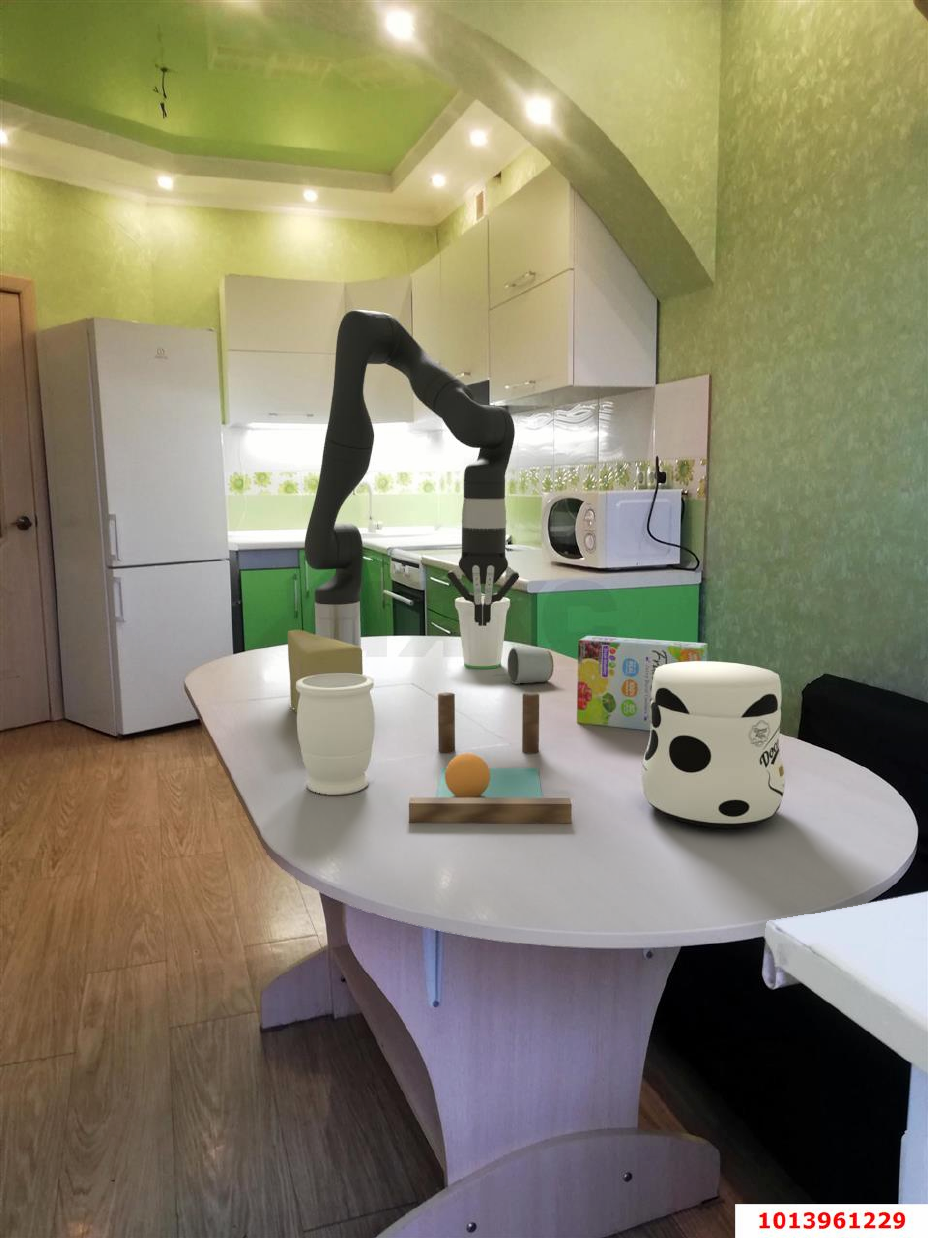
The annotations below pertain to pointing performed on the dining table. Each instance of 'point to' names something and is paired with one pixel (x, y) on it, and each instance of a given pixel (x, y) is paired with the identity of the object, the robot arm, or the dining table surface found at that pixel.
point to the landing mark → (503, 784)
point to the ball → (467, 776)
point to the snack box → (624, 677)
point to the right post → (530, 723)
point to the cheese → (319, 658)
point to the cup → (482, 634)
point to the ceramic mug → (529, 665)
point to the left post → (446, 722)
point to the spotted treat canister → (714, 744)
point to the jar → (336, 731)
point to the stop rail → (489, 810)
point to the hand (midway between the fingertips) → (482, 625)
